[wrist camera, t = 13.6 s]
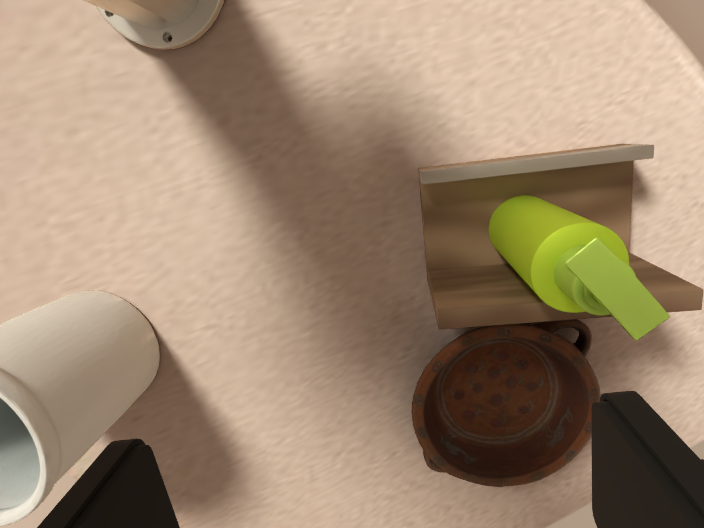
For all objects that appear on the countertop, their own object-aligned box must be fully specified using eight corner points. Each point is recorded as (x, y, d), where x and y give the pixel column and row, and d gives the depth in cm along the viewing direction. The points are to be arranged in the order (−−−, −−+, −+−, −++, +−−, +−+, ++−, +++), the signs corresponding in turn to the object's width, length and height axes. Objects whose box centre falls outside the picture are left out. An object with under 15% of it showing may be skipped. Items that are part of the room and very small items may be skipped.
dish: (365, 407, 49) (362, 436, 45) (501, 257, 43) (514, 272, 39) (486, 492, 51) (495, 529, 46) (633, 359, 45) (661, 385, 40)
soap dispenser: (518, 172, 39) (640, 208, 20) (569, 228, 40) (731, 313, 21) (467, 218, 40) (533, 293, 21) (517, 271, 41) (623, 388, 22)
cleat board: (418, 168, 41) (427, 180, 30) (622, 143, 39) (716, 147, 28) (427, 279, 44) (438, 329, 33) (617, 262, 42) (701, 309, 31)
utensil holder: (41, 388, 53) (-124, 507, 36) (37, 271, 48) (-153, 344, 32) (161, 414, 52) (50, 546, 35) (167, 298, 48) (44, 386, 31)
